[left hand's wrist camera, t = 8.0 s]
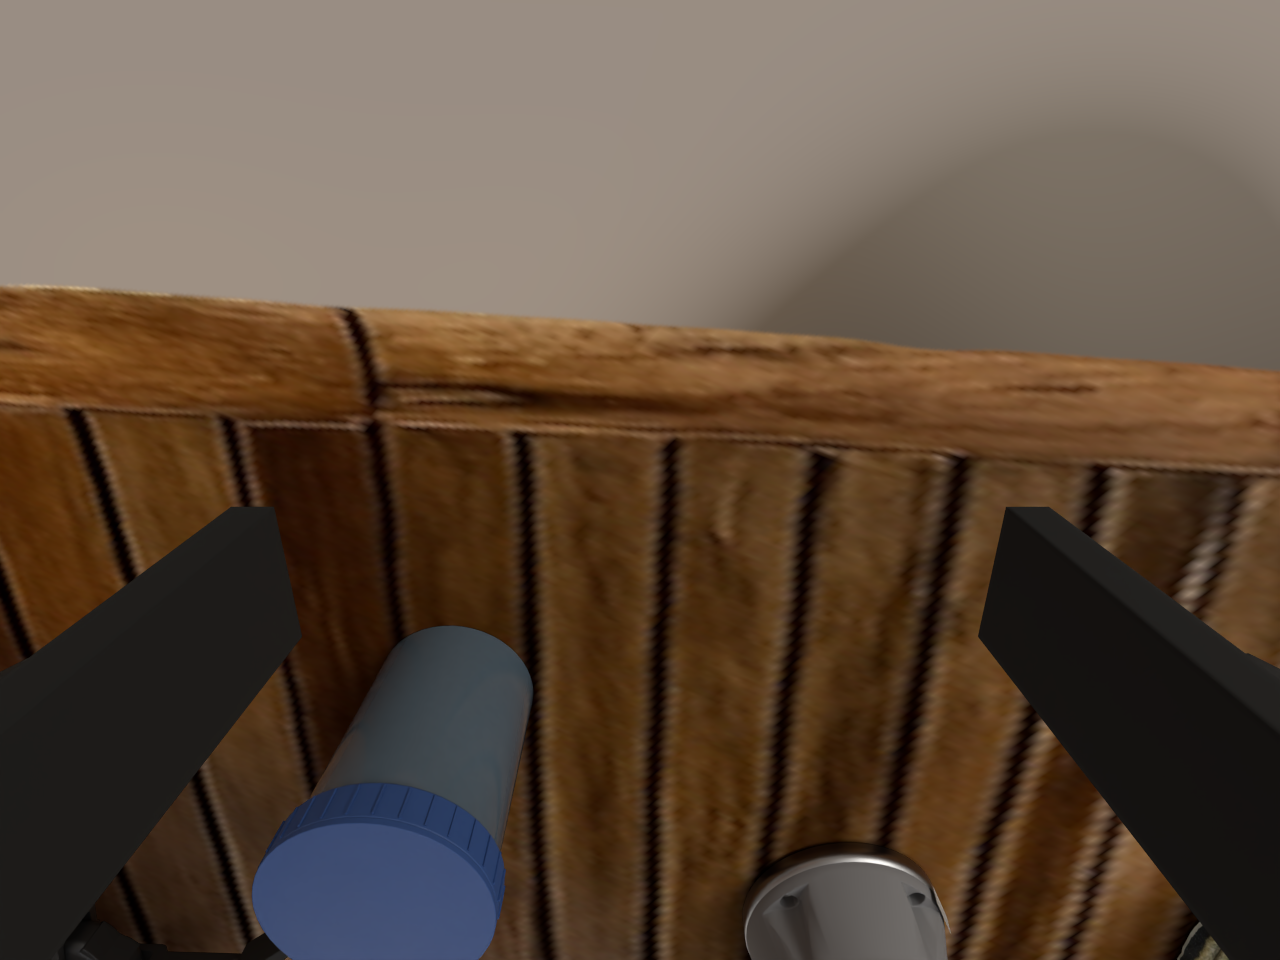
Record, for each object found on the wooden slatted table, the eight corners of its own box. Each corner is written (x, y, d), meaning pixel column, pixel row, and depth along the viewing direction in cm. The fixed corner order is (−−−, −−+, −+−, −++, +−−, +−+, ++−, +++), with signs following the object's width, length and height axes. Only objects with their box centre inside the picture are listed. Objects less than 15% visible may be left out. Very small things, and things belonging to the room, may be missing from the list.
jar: (550, 734, 48) (513, 957, 34) (411, 759, 49) (318, 986, 35) (508, 612, 45) (447, 806, 30) (357, 641, 46) (230, 843, 31)
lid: (533, 926, 36) (526, 972, 34) (327, 958, 37) (308, 1004, 35) (465, 762, 32) (453, 803, 30) (234, 802, 33) (206, 845, 31)
